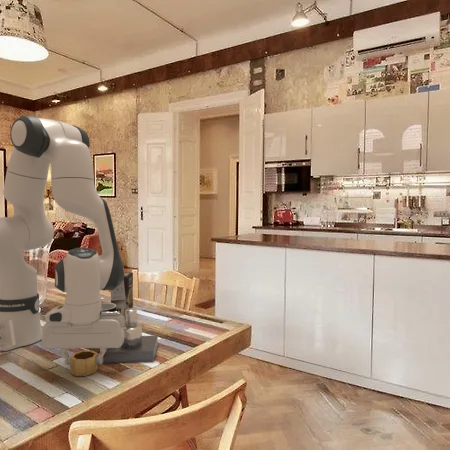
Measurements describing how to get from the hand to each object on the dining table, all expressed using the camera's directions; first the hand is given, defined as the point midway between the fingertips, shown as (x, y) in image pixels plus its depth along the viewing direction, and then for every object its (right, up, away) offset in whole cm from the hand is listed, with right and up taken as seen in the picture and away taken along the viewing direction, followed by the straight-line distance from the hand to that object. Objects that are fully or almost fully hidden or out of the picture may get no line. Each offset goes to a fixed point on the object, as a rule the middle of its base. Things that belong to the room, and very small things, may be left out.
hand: (84, 363), depth 102 cm
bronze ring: (0, -2, 0) cm, 2 cm away
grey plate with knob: (+9, -1, +12) cm, 15 cm away
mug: (-5, 0, +25) cm, 25 cm away
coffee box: (-2, +1, +47) cm, 47 cm away
